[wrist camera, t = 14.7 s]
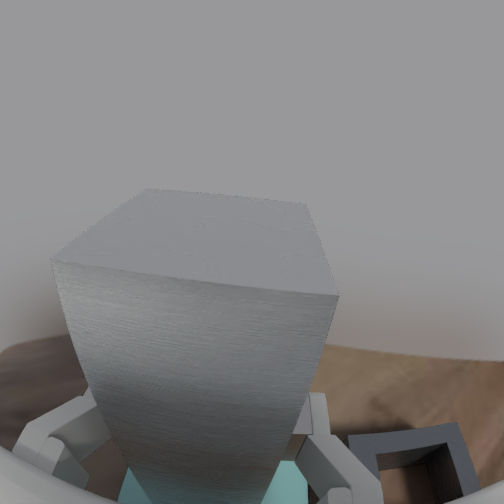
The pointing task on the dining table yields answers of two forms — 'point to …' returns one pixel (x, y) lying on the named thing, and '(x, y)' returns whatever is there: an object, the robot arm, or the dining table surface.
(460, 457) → the socket block
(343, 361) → the dining table surface
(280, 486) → the teal pad
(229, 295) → the steel peg
